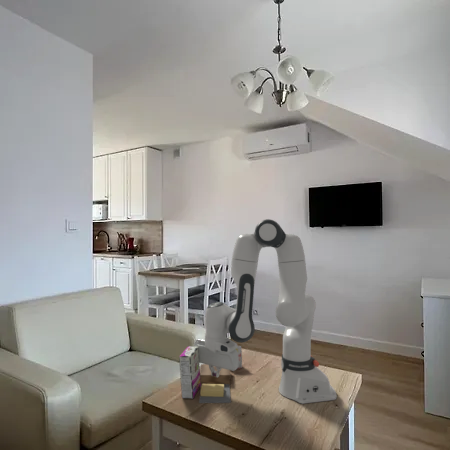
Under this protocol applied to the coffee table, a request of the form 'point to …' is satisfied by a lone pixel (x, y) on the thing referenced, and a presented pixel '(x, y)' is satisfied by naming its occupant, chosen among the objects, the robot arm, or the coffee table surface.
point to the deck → (208, 379)
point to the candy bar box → (190, 372)
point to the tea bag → (239, 356)
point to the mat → (213, 399)
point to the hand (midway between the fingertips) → (215, 376)
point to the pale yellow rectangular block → (212, 390)
